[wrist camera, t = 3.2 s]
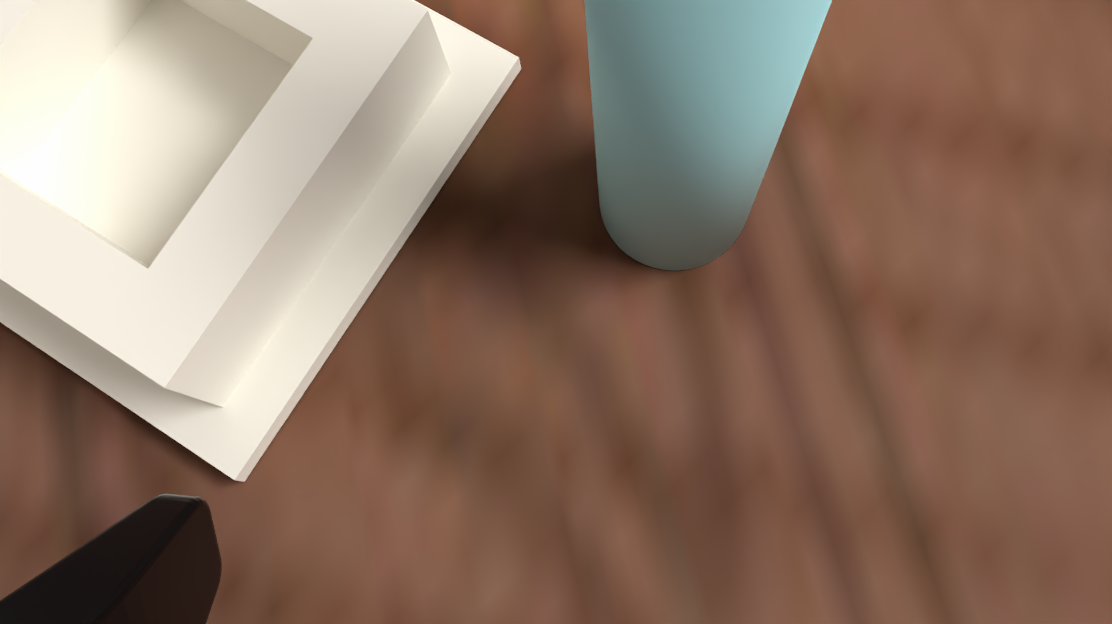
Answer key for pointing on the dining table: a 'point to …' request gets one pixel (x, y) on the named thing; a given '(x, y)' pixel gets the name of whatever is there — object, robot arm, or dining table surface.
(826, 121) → the dining table surface
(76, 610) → the robot arm
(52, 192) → the socket
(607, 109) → the blue cylinder
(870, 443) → the dining table surface
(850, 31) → the dining table surface
